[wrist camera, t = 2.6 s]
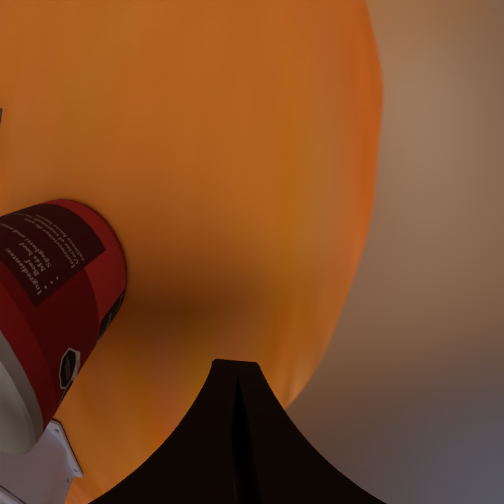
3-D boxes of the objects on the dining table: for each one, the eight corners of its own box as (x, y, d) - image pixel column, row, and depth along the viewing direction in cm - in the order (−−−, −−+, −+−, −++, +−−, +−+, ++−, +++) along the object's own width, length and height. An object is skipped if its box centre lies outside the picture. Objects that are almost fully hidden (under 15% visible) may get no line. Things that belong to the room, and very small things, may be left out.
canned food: (53, 330, 17) (-34, 442, 7) (10, 217, 15) (-122, 279, 4) (150, 314, 17) (82, 470, 7) (107, 179, 15) (-55, 225, 4)
